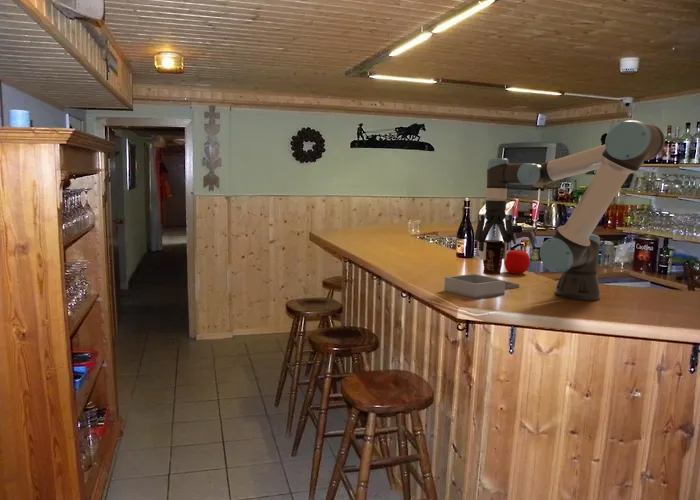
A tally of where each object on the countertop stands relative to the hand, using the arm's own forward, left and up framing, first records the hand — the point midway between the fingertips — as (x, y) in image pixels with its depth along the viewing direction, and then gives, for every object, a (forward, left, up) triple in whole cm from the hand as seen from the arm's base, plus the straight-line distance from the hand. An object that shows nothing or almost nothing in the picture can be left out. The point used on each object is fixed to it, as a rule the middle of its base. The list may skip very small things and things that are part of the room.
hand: (493, 259), depth 208 cm
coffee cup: (0, 0, -6) cm, 6 cm away
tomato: (+14, -32, -11) cm, 37 cm away
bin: (-6, +16, -10) cm, 20 cm away
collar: (0, 0, -10) cm, 10 cm away
